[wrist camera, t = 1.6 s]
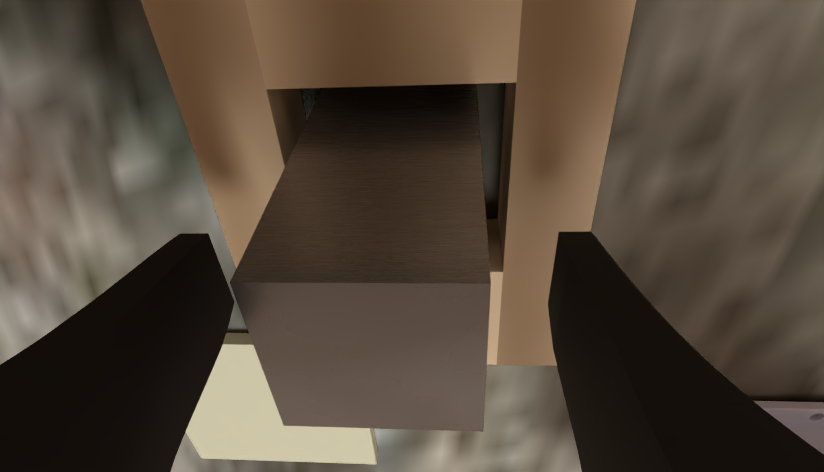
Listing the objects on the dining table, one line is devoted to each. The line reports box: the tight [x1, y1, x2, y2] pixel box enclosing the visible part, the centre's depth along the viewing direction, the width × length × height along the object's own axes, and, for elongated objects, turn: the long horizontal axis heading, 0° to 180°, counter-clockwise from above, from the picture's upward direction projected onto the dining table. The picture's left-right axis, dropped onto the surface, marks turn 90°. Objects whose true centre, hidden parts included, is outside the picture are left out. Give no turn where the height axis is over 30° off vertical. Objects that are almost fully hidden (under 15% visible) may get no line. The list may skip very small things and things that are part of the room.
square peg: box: [230, 84, 491, 431], centre depth 12 cm, size 4×4×8 cm
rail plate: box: [141, 0, 636, 366], centre depth 14 cm, size 10×14×2 cm
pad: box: [186, 333, 378, 464], centre depth 24 cm, size 9×9×1 cm
